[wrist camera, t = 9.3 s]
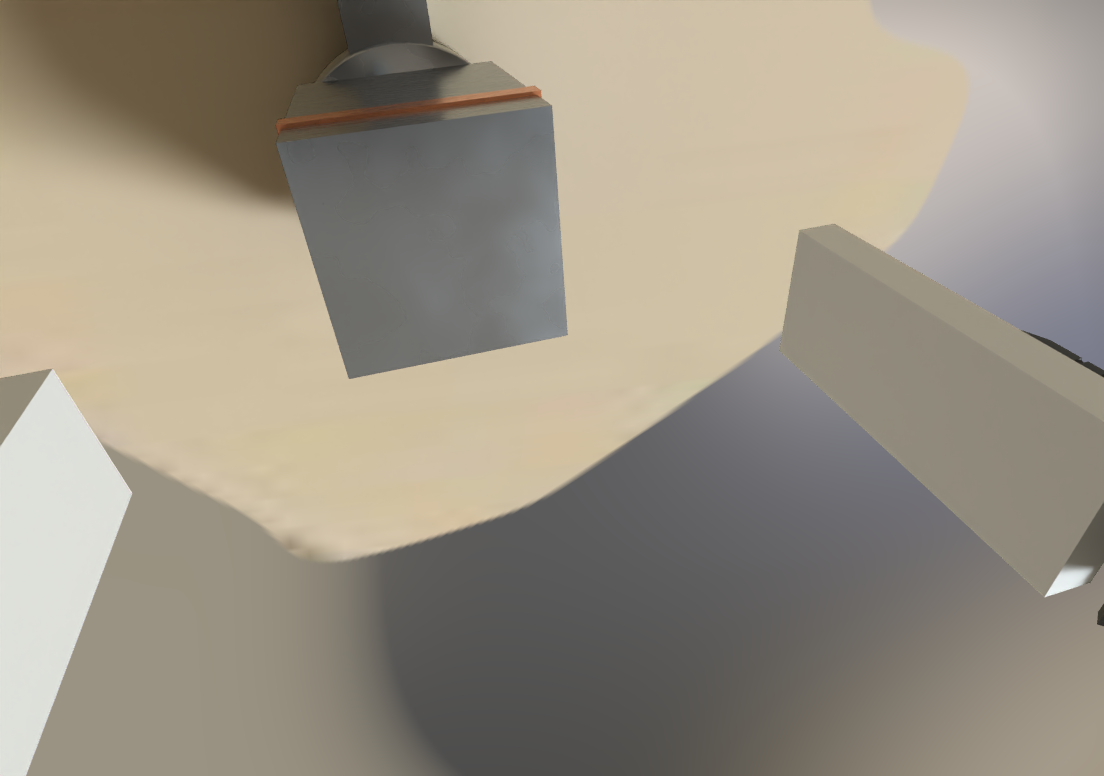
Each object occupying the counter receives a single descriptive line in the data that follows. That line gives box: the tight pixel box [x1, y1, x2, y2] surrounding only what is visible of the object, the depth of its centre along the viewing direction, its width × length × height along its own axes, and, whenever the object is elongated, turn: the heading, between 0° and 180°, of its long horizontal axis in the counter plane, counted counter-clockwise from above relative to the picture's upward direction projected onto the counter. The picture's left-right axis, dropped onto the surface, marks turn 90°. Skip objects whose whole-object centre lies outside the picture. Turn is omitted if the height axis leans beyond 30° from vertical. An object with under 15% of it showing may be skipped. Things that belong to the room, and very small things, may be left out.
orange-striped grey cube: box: [276, 61, 568, 379], centre depth 20 cm, size 7×7×8 cm
